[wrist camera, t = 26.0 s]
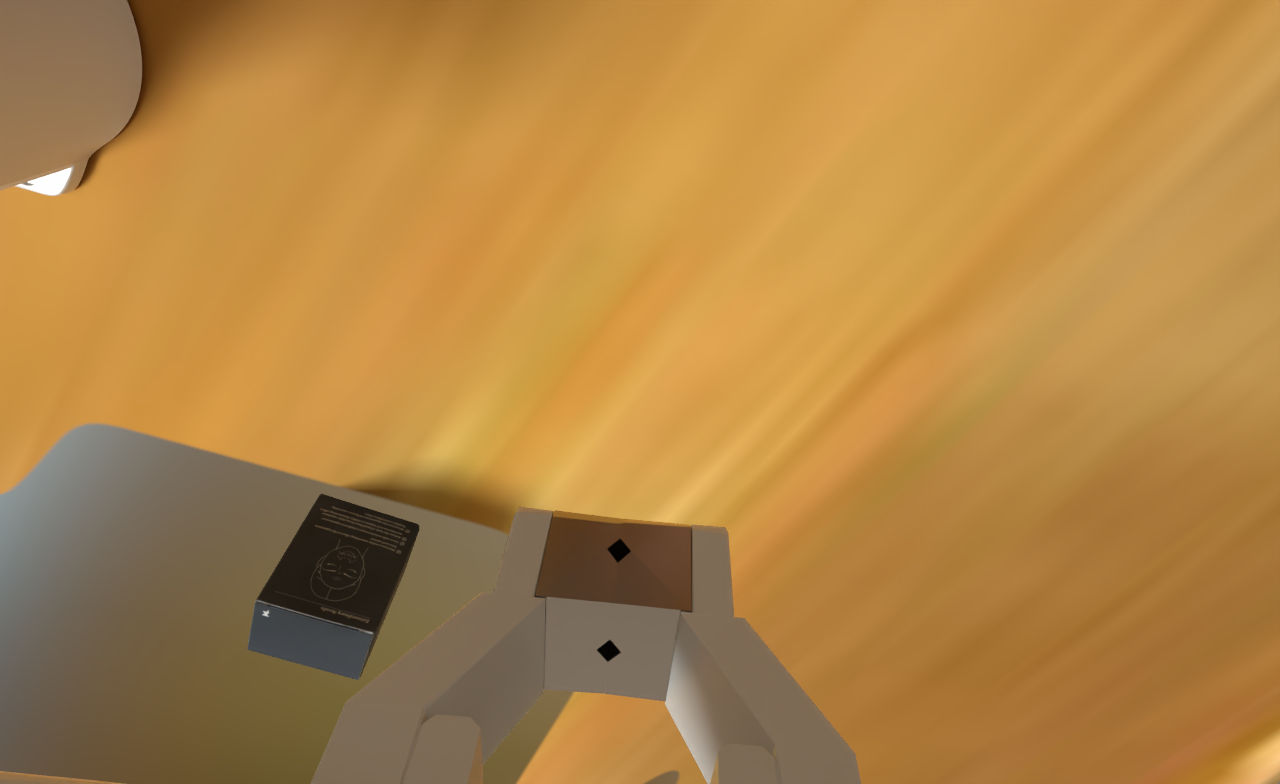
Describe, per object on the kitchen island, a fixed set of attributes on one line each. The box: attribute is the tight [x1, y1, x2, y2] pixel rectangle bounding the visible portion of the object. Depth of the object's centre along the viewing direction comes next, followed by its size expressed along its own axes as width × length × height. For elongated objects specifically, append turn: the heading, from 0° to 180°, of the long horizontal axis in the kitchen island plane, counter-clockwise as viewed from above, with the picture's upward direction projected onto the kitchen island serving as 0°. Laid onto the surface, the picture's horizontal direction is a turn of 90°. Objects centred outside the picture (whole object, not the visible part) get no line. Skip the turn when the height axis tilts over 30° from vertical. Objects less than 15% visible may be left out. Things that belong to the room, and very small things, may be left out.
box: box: [248, 494, 419, 680], centre depth 54 cm, size 8×6×11 cm
